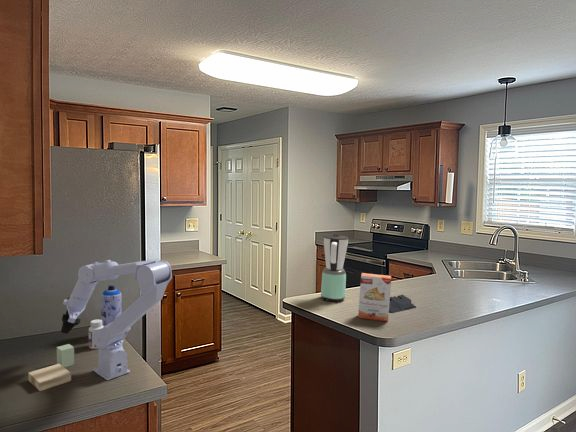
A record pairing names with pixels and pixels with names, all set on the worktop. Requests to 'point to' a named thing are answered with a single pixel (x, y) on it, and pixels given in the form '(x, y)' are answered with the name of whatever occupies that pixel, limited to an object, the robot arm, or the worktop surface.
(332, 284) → the mint green blender
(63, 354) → the green block
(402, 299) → the dark slate chunk
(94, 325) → the pill bottle
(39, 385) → the birch block
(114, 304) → the aerosol can
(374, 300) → the cracker box
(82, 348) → the worktop surface
